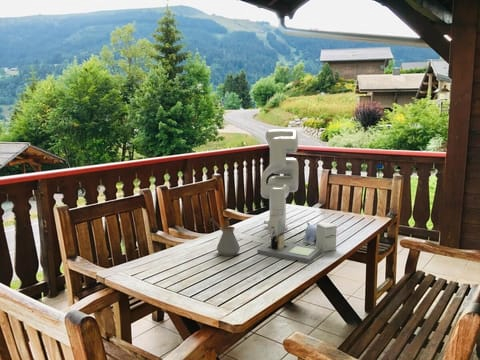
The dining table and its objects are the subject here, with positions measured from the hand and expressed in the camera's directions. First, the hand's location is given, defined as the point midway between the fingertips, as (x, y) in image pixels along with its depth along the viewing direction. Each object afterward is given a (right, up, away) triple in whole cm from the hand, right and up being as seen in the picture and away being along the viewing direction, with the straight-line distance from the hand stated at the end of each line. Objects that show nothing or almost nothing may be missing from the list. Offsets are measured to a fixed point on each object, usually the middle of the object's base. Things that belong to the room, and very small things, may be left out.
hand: (277, 246), depth 206 cm
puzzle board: (+6, -3, -3) cm, 7 cm away
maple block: (0, -2, 0) cm, 2 cm away
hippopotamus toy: (+22, 0, +15) cm, 26 cm away
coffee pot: (-27, -3, +1) cm, 27 cm away
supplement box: (+25, -2, +3) cm, 25 cm away
